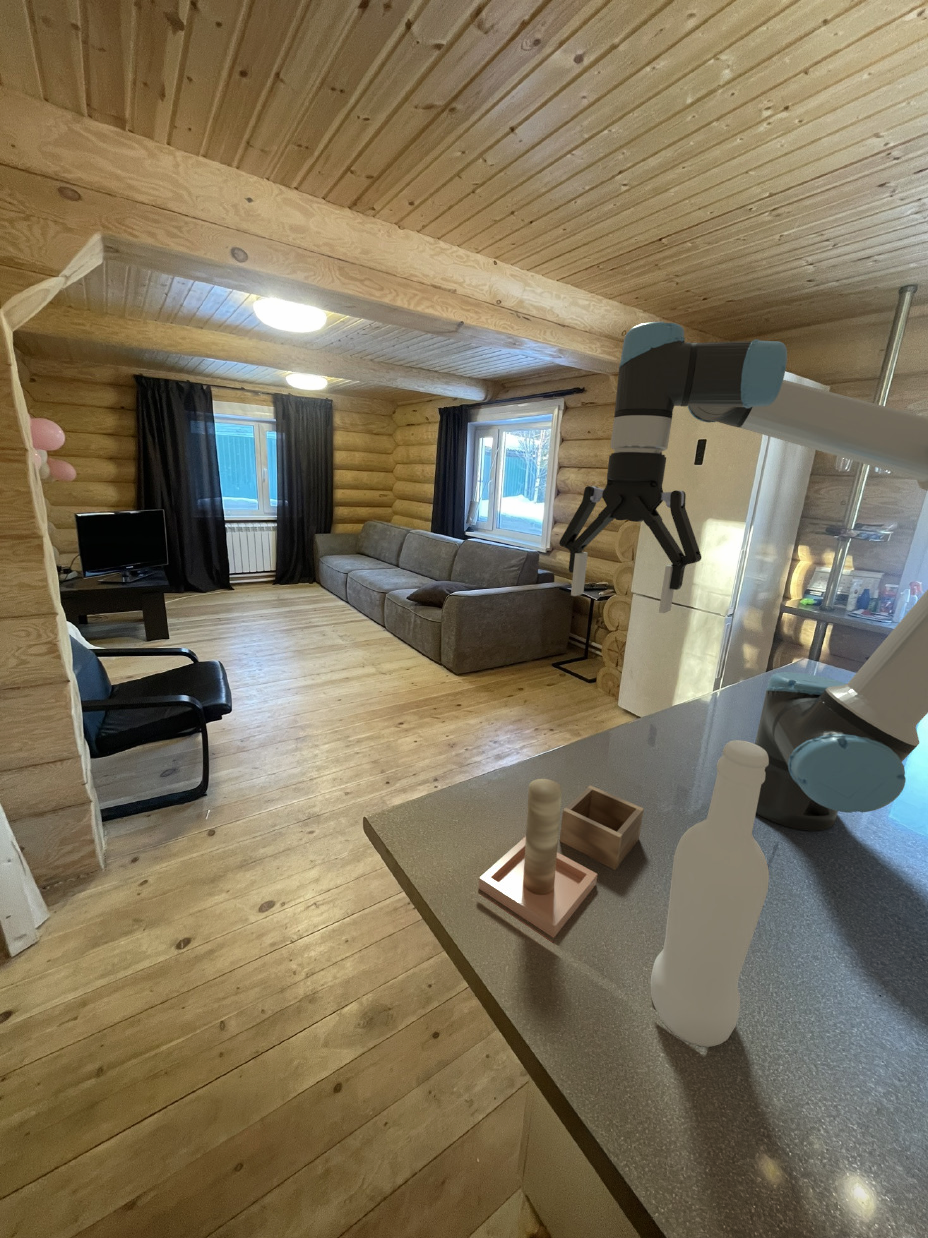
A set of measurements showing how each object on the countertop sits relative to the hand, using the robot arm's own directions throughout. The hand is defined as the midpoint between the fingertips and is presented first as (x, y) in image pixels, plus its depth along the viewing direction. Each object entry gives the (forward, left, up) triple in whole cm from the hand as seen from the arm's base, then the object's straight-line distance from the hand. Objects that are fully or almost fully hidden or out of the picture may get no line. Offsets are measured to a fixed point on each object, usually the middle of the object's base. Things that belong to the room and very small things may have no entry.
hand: (618, 602), depth 76 cm
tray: (-3, +22, -35) cm, 41 cm away
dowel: (-3, +22, -33) cm, 40 cm away
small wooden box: (-5, +8, -35) cm, 36 cm away
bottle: (-23, +25, -35) cm, 49 cm away
